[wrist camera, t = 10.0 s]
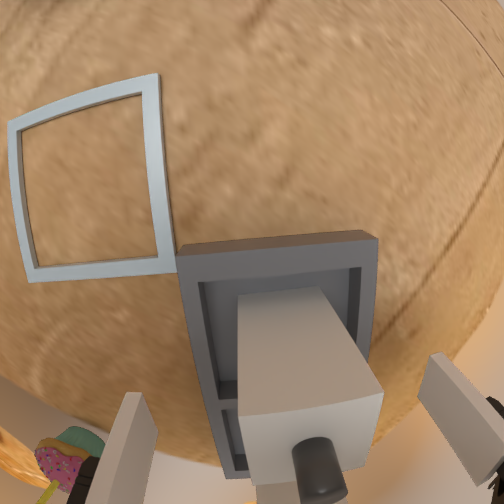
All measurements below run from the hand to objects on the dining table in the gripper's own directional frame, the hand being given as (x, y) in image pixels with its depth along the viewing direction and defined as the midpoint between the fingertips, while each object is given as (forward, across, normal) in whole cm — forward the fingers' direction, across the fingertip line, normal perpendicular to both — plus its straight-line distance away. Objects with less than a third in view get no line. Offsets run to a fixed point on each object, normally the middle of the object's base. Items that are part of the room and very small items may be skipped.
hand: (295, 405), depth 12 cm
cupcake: (+8, -20, -14) cm, 26 cm away
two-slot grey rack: (+8, 0, -5) cm, 9 cm away
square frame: (+8, -12, +10) cm, 17 cm away
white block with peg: (+7, 0, 0) cm, 8 cm away
